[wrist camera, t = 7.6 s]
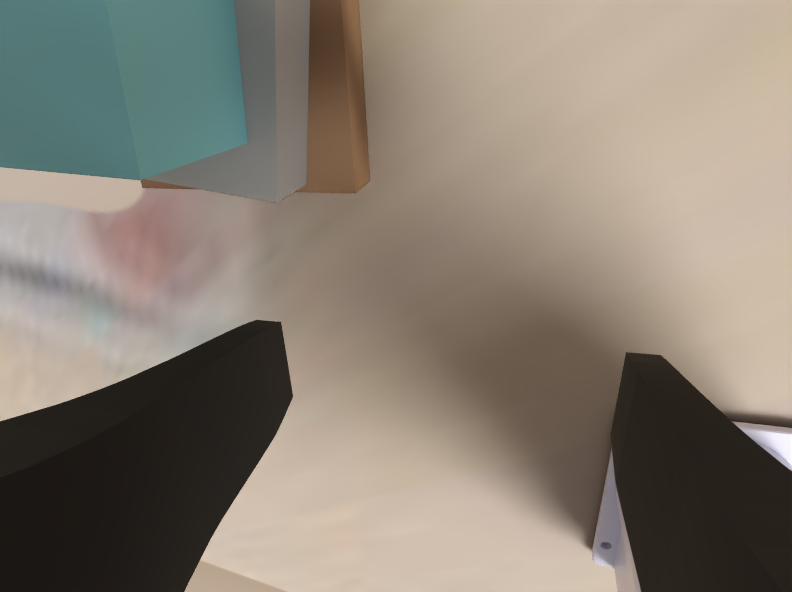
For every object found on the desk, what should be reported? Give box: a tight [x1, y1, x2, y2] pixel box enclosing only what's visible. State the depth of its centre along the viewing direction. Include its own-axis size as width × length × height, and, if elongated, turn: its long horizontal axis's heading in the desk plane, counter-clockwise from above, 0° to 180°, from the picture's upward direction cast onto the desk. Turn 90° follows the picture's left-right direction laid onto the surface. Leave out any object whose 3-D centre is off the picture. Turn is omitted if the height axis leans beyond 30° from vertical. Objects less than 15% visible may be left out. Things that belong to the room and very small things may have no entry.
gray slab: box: [146, 0, 310, 203], centre depth 17 cm, size 7×7×2 cm
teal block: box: [0, 0, 248, 180], centre depth 13 cm, size 4×4×5 cm
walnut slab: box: [141, 0, 370, 193], centre depth 19 cm, size 9×9×2 cm
